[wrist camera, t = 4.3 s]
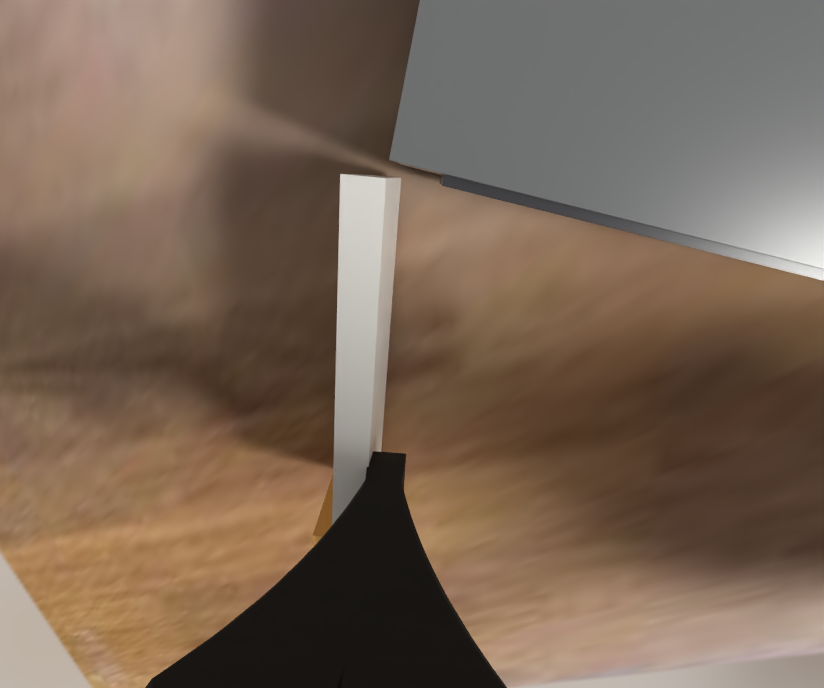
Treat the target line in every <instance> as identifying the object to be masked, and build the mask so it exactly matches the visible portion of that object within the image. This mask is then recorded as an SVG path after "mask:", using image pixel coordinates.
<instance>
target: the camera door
mask: <svg viewBox="0 0 824 688" xmlns="http://www.w3.org/2000/svg"><path fill="white" fill-rule="evenodd" d="M400 187H401V178H400V177H389V176H378V175H360V174H340V209H339V251H338V293H337V335H336V378H335V420H334V462H333V476H332V479H331V482H330V485H329V488H328V491H327V494H326V497H325V500H324V503H323V506H322V509H321V512H320V515H319V518H318V521H317V524H316V527H315V530H314V533H313V547H314V546H315V545H316V544H317V543H318V541H319V540H320V539H321V538H322V537H323V536H324V535H325V533H326V532H327V531H328V530H329V529H330V527H331V526H332V525H333V524H334V522H335V521H336V520H337V519H338V517H339V516H340V515H341V514H342V512H343V511H344V510H345V508H346V507H347V506H348V504H349V503H350V501H351V500H352V499H353V497H354V496H355V494H356V493H357V491H358V490H359V489H360V487H361V486H362V484H363V482H364V481H365V479H366V469H367V467H369V463H370V460H371V456H372V453H373V451H377V452H381V447H382V433H383V420H384V406H385V392H386V379H387V365H388V351H389V338H390V324H391V310H392V297H393V283H394V269H395V256H396V242H397V228H398V215H399V201H400Z"/></svg>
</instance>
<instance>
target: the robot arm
mask: <svg viewBox="0 0 824 688" xmlns="http://www.w3.org/2000/svg"><path fill="white" fill-rule="evenodd" d="M405 462H406V454H402V453H390V452H377V451H373V453H372V456H371V460H370V463H369V467H367V469H366V479H365V481H364V482H363V484H362V486H361V487H360V489H359V490H358V491H357V493H356V494H355V496H354V497H353V499H352V500H351V501H350V503H349V504H348V506H347V507H346V508H345V510H344V511H343V512H342V514H341V515H340V516H339V517H338V519H337V520H336V521H335V522H334V524H333V525H332V526H331V527H330V529H329V530H328V531H327V532H326V533H325V535H324V536H323V537H322V538H321V539H320V540H319V541H318V543H317V544H316V545H315V546H314V547H313V548H312V549H311V550H310V551H309V552H308V553H307V554H306V555H305V556H304V558H303V559H302V560H301V561H300V562H299V563H298V564H297V565H296V566H295V567H294V568H293V569H291V570H290V571H289V572H288V573H287V574H286V575H285V576H284V577H283V578H282V579H281V580H280V581H279V582H278V583H277V584H276V585H275V586H274V587H272V588H271V589H270V590H269V591H268V592H267V593H266V594H265V595H263V596H262V597H261V598H260V599H259V600H258V601H256V602H255V603H254V604H253V605H251V606H250V607H249V608H248V609H246V610H245V611H244V612H243V613H242V614H240V615H239V616H238V617H237V618H235V619H234V620H233V621H232V622H230V623H229V624H228V625H227V626H225V627H224V628H223V629H222V630H220V631H219V632H218V633H216V634H215V635H214V636H212V637H211V638H210V639H208V640H207V641H206V642H204V643H203V644H201V645H200V646H198V647H197V648H196V649H194V650H193V651H191V652H190V653H188V654H187V655H186V656H184V657H183V658H181V659H180V660H178V661H177V662H176V663H174V664H173V665H171V666H170V667H168V668H167V669H166V670H164V671H163V672H161V673H160V674H158V675H157V676H155V677H154V678H152V679H151V681H150V682H149V683H148V685H147V686H146V688H507V687H506V686H505V684H504V683H503V682H502V680H501V679H500V678H499V676H498V675H497V673H496V672H495V671H494V669H493V668H492V667H491V665H490V664H489V662H488V661H487V659H486V658H485V656H484V655H483V653H482V652H481V651H480V649H479V648H478V646H477V645H476V643H475V642H474V640H473V639H472V637H471V636H470V634H469V632H468V631H467V629H466V627H465V626H464V624H463V622H462V621H461V619H460V617H459V616H458V614H457V612H456V611H455V609H454V608H453V606H452V604H451V603H450V601H449V599H448V597H447V596H446V594H445V592H444V590H443V588H442V586H441V584H440V582H439V580H438V579H437V577H436V575H435V572H434V570H433V568H432V566H431V564H430V562H429V560H428V558H427V555H426V553H425V551H424V549H423V546H422V544H421V541H420V539H419V536H418V534H417V531H416V529H415V526H414V523H413V520H412V517H411V514H410V511H409V508H408V504H407V501H406V498H405V494H404V477H405Z"/></svg>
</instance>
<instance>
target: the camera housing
mask: <svg viewBox="0 0 824 688" xmlns="http://www.w3.org/2000/svg"><path fill="white" fill-rule="evenodd" d="M389 160H391V161H393V162H396V163H398V164H401V165H404V166H407V167H411V168H415V169H419V170H423V171H427V172H431V173H435V174H439V175H441V178H440V184H441V185H442V186H446V187H450V188H454V189H458V190H462V191H466V192H470V193H474V194H478V195H482V196H486V197H490V198H494V199H498V200H502V201H506V202H510V203H514V204H518V205H522V206H526V207H530V208H534V209H538V210H542V211H546V212H550V213H554V214H558V215H562V216H566V217H570V218H574V219H578V220H582V221H586V222H590V223H595V224H599V225H603V226H607V227H611V228H615V229H619V230H623V231H627V232H631V233H635V234H639V235H643V236H647V237H651V238H655V239H659V240H663V241H667V242H671V243H675V244H679V245H683V246H687V247H691V248H695V249H699V250H703V251H707V252H711V253H715V254H719V255H723V256H727V257H731V258H735V259H739V260H743V261H747V262H751V263H755V264H759V265H763V266H767V267H771V268H775V269H779V270H783V271H787V272H791V273H795V274H799V275H803V276H807V277H811V278H815V279H819V280H823V281H824V0H420V2H419V7H418V13H417V18H416V23H415V28H414V33H413V38H412V43H411V49H410V54H409V59H408V64H407V69H406V74H405V80H404V85H403V90H402V95H401V100H400V105H399V111H398V116H397V121H396V126H395V131H394V136H393V141H392V147H391V152H390V157H389Z"/></svg>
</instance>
